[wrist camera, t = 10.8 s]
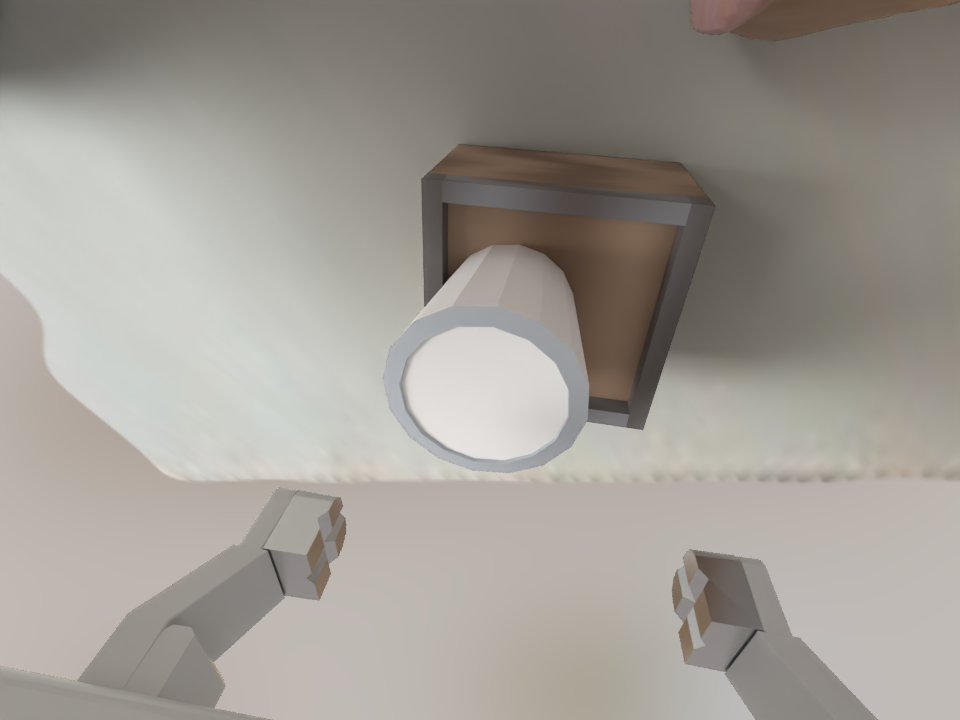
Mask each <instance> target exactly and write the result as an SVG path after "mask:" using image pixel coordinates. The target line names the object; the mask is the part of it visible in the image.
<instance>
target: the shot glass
mask: <svg viewBox="0 0 960 720" xmlns="http://www.w3.org/2000/svg"><path fill="white" fill-rule="evenodd" d="M383 381H384V386H385V390H386V394H387V398H388V403H389V407H390V410H391V412H392V413H393V414H394V416H395V417H396V419H397V420H398V421H399V423H400V424H401V426H402V427H403V428H404V430H405V431H406V433H407V434H408V435H409V437H410V438H412V439H413V440H414V441H416V442H417V443H418V444H420V445H421V446H423V447H424V448H425V449H427V450H428V451H429V452H431V453H432V454H434V455H435V456H436V457H438V458H440V459H442V460H445V461H448V462H451V463H454V464H456V465H459V466H462V467H465V468H467V469H470V470H473V471H487V472H501V473H511V472H516V471H520V470H524V469H529V468H533V467H538V466H542V465H544V464H546V463H547V462H549V461H550V460H552V459H553V458H555V457H556V456H558V455H559V454H561V453H562V452H564V451H565V450H567V449H569V448H570V447H571V446H572V444H573V443H574V441H575V439H576V438H577V436H578V434H579V433H580V431H581V430H582V428H583V426H584V425H585V423H586V422H587V420H588V403H589V381H588V375H587V370H586V364H585V359H584V353H583V347H582V342H581V336H580V330H579V325H578V319H577V314H576V308H575V302H574V297H573V293H572V290H571V288H570V286H569V283H568V281H567V279H566V276H565V274H564V272H563V271H562V270H561V269H560V268H559V267H558V266H557V265H556V264H555V263H554V262H553V261H552V260H550V259H549V258H548V257H547V256H546V255H545V254H543V253H541V252H538V251H536V250H533V249H530V248H528V247H525V246H522V245H520V244H517V245H492V246H490V247H487V248H485V249H483V250H481V251H478V252H476V253H474V254H472V255H470V256H469V257H468V258H467V259H466V260H465V262H464V263H463V264H462V265H461V266H460V267H459V268H458V269H457V270H456V271H455V273H454V274H453V275H452V276H451V277H450V278H449V280H448V281H447V282H446V283H445V284H444V285H443V287H442V288H441V289H440V290H439V291H438V292H437V293H436V295H435V296H434V297H433V298H432V299H431V300H430V302H429V303H428V304H427V305H426V306H425V307H424V309H423V310H422V311H421V312H420V313H419V314H418V316H417V317H416V318H415V319H414V320H413V321H412V323H411V324H410V325H409V326H408V327H407V328H406V330H405V331H404V332H403V333H402V334H401V335H400V337H399V338H398V339H397V340H396V341H395V342H394V344H393V345H392V346H391V347H390V351H389V355H388V359H387V363H386V367H385V371H384V375H383Z"/></svg>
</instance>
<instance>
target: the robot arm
mask: <svg viewBox="0 0 960 720" xmlns="http://www.w3.org/2000/svg"><path fill="white" fill-rule="evenodd" d="M342 507H343V504H342V500H341V498H340V497H335V496H330V495H324V494H318V493H312V492H306V491H301V490H295V489H288V488H282V487H279V488H278V489H277V490H276V491H274V492H273V493H272V495H271V497H270V498H269V500H268V501H267V503H266V505H265V506H264V508H263V509H262V511H261V512H260V514H259V516H258V517H257V519H256V520H255V522H254V523H253V525H252V526H251V528H250V530H249V531H248V533H247V534H246V536H245V537H244V539H243V541H242V542H241V544H240V545H232V546H231V547H229V548H228V549H226V550H225V551H223V552H222V553H220V554H218V555H217V556H215V557H214V558H212V559H211V560H209V561H208V562H206V563H205V564H203V565H202V566H200V567H198V568H197V569H195V570H194V571H192V572H191V573H189V574H188V575H187V576H185V577H183V578H182V579H180V580H179V581H177V582H175V583H174V584H172V585H171V586H169V587H168V588H166V589H165V590H163V591H162V592H160V593H159V594H157V595H155V596H154V597H152V598H151V599H149V600H148V601H146V602H145V603H143V604H142V605H140V606H139V607H137V608H136V609H134V610H132V611H131V612H129V613H128V614H127V615H126V616H125V618H124V619H123V621H122V622H121V623H120V624H119V626H118V627H117V628H116V630H115V631H114V632H113V634H112V635H111V636H110V638H109V639H108V640H107V642H106V643H105V644H104V646H103V647H102V648H101V650H100V651H99V653H98V654H97V655H96V656H95V658H94V659H93V660H92V662H91V663H90V664H89V666H88V667H87V668H86V670H85V671H84V672H83V674H82V675H81V676H80V678H79V679H78V680H77V681H75V680H69V679H65V678H59V677H54V676H50V675H45V674H40V673H34V672H29V671H24V670H19V669H14V668H9V667H4V666H0V720H271V719H266V718H261V717H255V716H250V715H246V714H240V713H236V712H231V711H225V710H220V709H215V706H216V704H217V702H218V700H219V698H220V696H221V694H222V692H223V690H224V688H225V683H224V679H223V678H222V676H221V674H220V673H219V671H218V670H217V668H216V666H215V665H214V663H213V662H214V661H215V660H216V659H218V657H220V656H221V655H222V654H223V653H224V652H225V651H226V650H228V649H229V648H230V647H231V646H232V645H233V644H234V643H235V642H236V641H237V640H239V639H240V638H241V637H242V636H243V635H244V634H245V633H246V632H247V631H248V630H250V629H251V628H252V627H253V626H254V625H255V624H256V623H257V622H258V621H260V620H261V619H262V618H263V617H264V616H265V615H266V614H267V613H268V612H269V611H270V610H272V609H273V608H274V607H275V606H276V605H277V604H278V603H279V602H281V600H283V599H284V596H291V597H298V598H305V599H312V600H320V598H321V596H322V593H323V591H324V589H325V586H326V584H327V582H328V579H329V577H330V575H331V572H330V568H329V563H330V562H332V561H333V560H335V559H336V558H337V557H338V556H339V554H340V551H341V549H342V547H343V543H344V539H345V535H346V520H345V517H344V516H343V515H342V514H340V511H341V509H342ZM683 561H684V566H683V567H681V568H679V569H677V571H676V574H675V576H674V578H673V587H672V597H673V604H674V611H675V613H676V614H677V615H678V616H679V618H680V619H681V620H682V621H683V625H682V627H681V629H680V631H679V637H680V642H681V647H682V652H683V657H684V662H685V664H688V665H693V666H698V667H703V668H709V669H713V670H718V671H723V672H726V673H725V675H726V677H727V678H728V679H729V681H730V682H731V684H732V685H733V687H734V688H735V690H736V691H737V693H738V694H739V696H740V697H741V698H742V700H743V702H744V703H745V704H746V706H747V708H748V709H749V710H750V712H751V713H752V715H753V716H754V718H755V719H756V720H878V719H877V718H876V717H875V716H874V715H873V714H872V713H871V712H870V711H869V710H868V709H867V708H866V707H865V706H864V705H863V704H862V703H861V702H860V701H859V699H858V698H857V697H856V696H855V695H854V694H853V693H852V692H851V691H850V690H849V689H848V688H847V687H846V686H845V685H844V684H843V683H842V682H841V681H840V680H839V679H838V677H837V676H836V675H835V674H834V673H833V672H832V671H831V670H830V669H829V668H828V667H827V666H826V665H825V664H824V663H823V662H822V661H821V660H820V659H819V658H818V657H817V655H816V654H815V653H814V652H813V651H812V650H811V649H810V648H809V647H808V646H807V645H806V644H805V643H804V642H803V641H802V640H801V639H800V638H797V637H793V636H792V634H791V632H790V629H789V627H788V624H787V621H786V619H785V616H784V613H783V611H782V608H781V606H780V603H779V601H778V598H777V595H776V592H775V590H774V587H773V585H772V582H771V580H770V577H769V574H768V572H767V569H766V566H765V565H764V563H763V562H761V560H758V559H752V558H744V557H736V556H734V555H727V554H720V553H713V552H706V551H698V550H688V551H686V553H685V555H684V557H683Z"/></svg>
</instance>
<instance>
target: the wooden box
mask: <svg viewBox="0 0 960 720" xmlns="http://www.w3.org/2000/svg"><path fill="white" fill-rule="evenodd" d="M421 180H422V224H423V268H424V307H425V306H426V305H427V304H428V303H429V302H430V300H431V299H432V298H433V297H434V296H435V295H436V293H437V292H438V291H439V290H440V289H441V288H442V287H443V285H444V284H445V283H446V282H447V281H448V280H449V278H450V277H451V276H452V275H453V274H454V273H455V271H456V270H457V269H458V268H459V267H460V266H461V265H462V264H463V263H464V262H465V260H466V259H467V258H468V257H469V256H470V255H472V254H474V253H476V252H478V251H481V250H483V249H485V248H487V247H490V246H492V245H517V244H520V245H522V246H525V247H528V248H530V249H533V250H536V251H538V252H541V253H543V254H545V255H546V256H547V257H548V258H549V259H550V260H552V261H553V262H554V263H555V264H556V265H557V266H558V267H559V268H560V269H561V270H562V271H563V272H564V274H565V276H566V279H567V281H568V283H569V286H570V288H571V290H572V293H573V297H574V302H575V308H576V314H577V319H578V325H579V330H580V336H581V342H582V347H583V353H584V359H585V364H586V370H587V375H588V381H589V403H588V420H587V422H592V423H599V424H606V425H613V426H620V427H627V428H634V429H641V430H643V428H644V425H645V422H646V419H647V416H648V413H649V410H650V407H651V404H652V400H653V397H654V394H655V391H656V388H657V385H658V382H659V379H660V376H661V373H662V370H663V366H664V363H665V360H666V357H667V354H668V351H669V348H670V345H671V342H672V339H673V336H674V332H675V329H676V326H677V323H678V320H679V317H680V314H681V311H682V308H683V305H684V301H685V298H686V295H687V292H688V289H689V286H690V283H691V280H692V277H693V274H694V271H695V267H696V264H697V261H698V258H699V255H700V252H701V249H702V246H703V243H704V240H705V236H706V233H707V230H708V227H709V224H710V221H711V218H712V215H713V212H714V209H715V205H714V204H713V202H712V201H711V200H710V199H709V198H708V196H707V195H706V194H705V193H704V191H703V190H702V189H701V188H700V186H699V185H698V184H697V183H696V181H695V180H694V179H693V178H692V177H691V175H690V174H689V173H688V172H687V170H686V169H685V168H684V167H683V165H682V164H681V163H677V162H665V161H653V160H641V159H629V158H617V157H605V156H593V155H581V154H569V153H557V152H545V151H533V150H521V149H509V148H497V147H485V146H472V145H460V144H459V145H458V146H457V147H456V148H455V149H454V150H453V151H451V152H450V153H449V154H448V155H447V156H446V157H445V158H444V159H443V160H442V161H441V162H439V163H438V164H437V165H436V166H435V167H434V168H433V169H432V170H431V171H430V172H428V173H427V174H426V175H425V176H424V177H423V178H422V179H421Z"/></svg>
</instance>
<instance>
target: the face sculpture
mask: <svg viewBox="0 0 960 720" xmlns="http://www.w3.org/2000/svg"><path fill="white" fill-rule="evenodd" d="M957 2H960V0H690V7H691V23H692V26H693V29H694V30H695V31H697V32H700V33H702V34H710V35H715V34H717V35H720V34H723V33H726V32H731V33H734V34H739V35H741V36H744V37H747V38H751V39H759V40H771V41H777V40H784V39H789V38H793V37H798V36H803V35H806V34H810V33H814V32H818V31H822V30H826V29H830V28H834V27H838V26H843V25H848V24H852V23H857V22H863V21H868V20H873V19H878V18H883V17H888V16H892V15H895V14H899V13H904V12H911V11H916V10H921V9H925V8H932V7H940V6H946V5H951V4H954V3H957Z"/></svg>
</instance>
